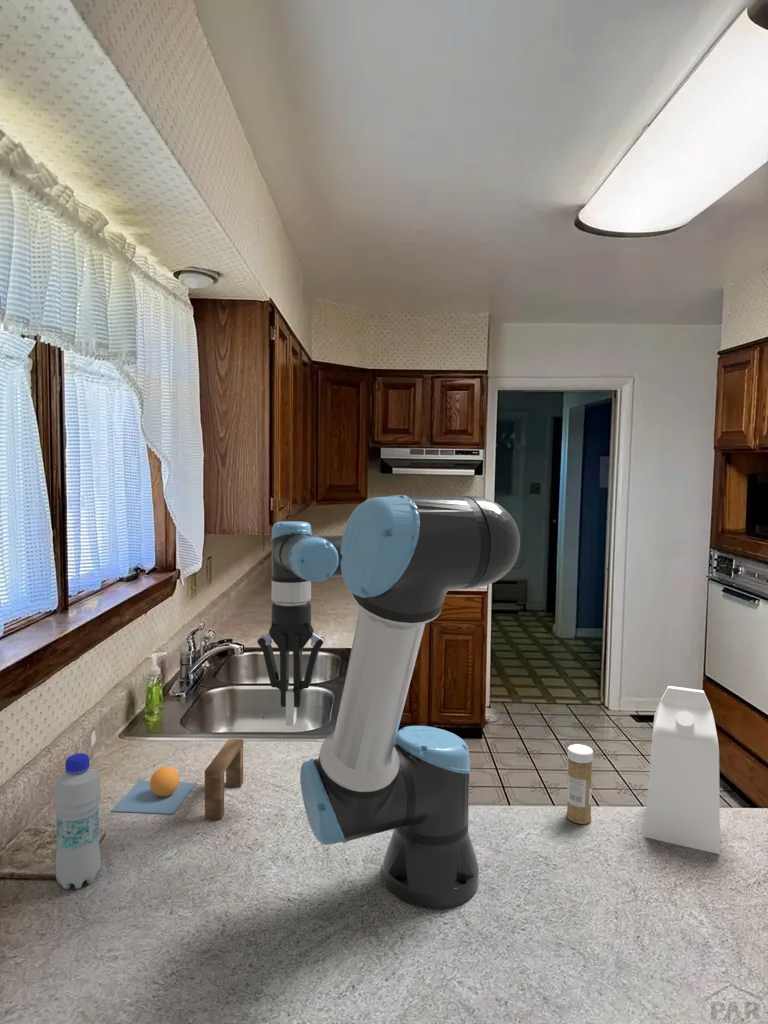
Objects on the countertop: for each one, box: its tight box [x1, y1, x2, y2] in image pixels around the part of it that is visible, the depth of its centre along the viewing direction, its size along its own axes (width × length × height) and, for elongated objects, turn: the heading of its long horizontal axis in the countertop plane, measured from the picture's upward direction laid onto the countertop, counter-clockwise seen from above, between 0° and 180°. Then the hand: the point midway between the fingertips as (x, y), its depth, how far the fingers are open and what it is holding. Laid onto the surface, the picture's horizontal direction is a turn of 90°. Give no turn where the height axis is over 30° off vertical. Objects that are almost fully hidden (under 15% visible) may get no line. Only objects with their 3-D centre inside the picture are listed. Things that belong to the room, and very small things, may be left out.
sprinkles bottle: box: [566, 743, 594, 825], centre depth 118 cm, size 5×5×13 cm
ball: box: [149, 766, 180, 797], centre depth 125 cm, size 6×6×6 cm
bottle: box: [52, 752, 102, 890], centre depth 98 cm, size 7×7×20 cm
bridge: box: [204, 738, 244, 821], centre depth 123 cm, size 3×14×9 cm, turn 176°
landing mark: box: [110, 779, 197, 815], centre depth 124 cm, size 12×12×1 cm
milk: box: [643, 685, 721, 855], centre depth 114 cm, size 12×12×26 cm
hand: (291, 722), depth 121 cm, fingers closed
